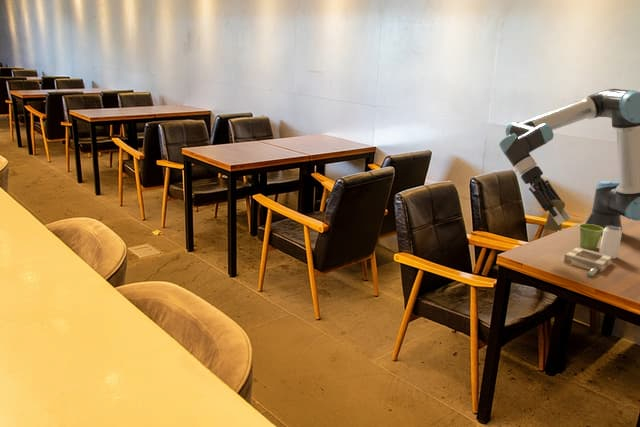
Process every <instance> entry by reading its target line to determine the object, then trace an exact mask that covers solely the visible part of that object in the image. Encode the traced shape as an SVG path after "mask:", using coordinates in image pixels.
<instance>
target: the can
mask: <svg viewBox="0 0 640 427" xmlns="http://www.w3.org/2000/svg"><path fill="white" fill-rule="evenodd" d="M621 230H622V231H621ZM622 236H623V228H622V229H621V228H620V227H617V226H612V225H607V226H606V227H605V229H604V230H603V235H601V238H600V239H601V241H600V245H599V249H598V253H602V254H606V255H609V256H613V257H612V260H615V259H617V258H618V253H619V249H620V245H621V244H620V243H621V240H622Z"/></svg>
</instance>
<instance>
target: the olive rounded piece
mask: <svg viewBox="0 0 640 427" xmlns="http://www.w3.org/2000/svg"><path fill="white" fill-rule="evenodd" d="M561 200H562V199H561ZM561 200H552V201H551V203H552V205H553V207H556V209H557V210H558V212H559V213H560V215H561V216H562V210H563V209H565V206H566V203H565V201H564V200H562V201H561ZM562 225H563V223H562V224H560V225H558V224H557V223H556V221H555V220H554V218H553V217H552V216H551V214H550V213H549V212H548V216H547V218H546V221H545V225H544V228H545V229H547V230H550V231H553V232H554V231H558V232H560V231H562V230H563V229H562V228H563V226H562Z"/></svg>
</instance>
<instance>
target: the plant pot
mask: <svg viewBox="0 0 640 427" xmlns="http://www.w3.org/2000/svg"><path fill="white" fill-rule="evenodd" d="M578 228H579V231H580V234H579V235H580V236H579V247H580V248H583V249H587V250H591V251H594V250H596V249H597V248H598V246H599V245H598V244H599V242H600V239H601V238H602V235H601V234H602V233H603V230H604V228H603V227H600V226H597V225H592V224H585V223H582V224H581V223H580V224H579V225H578Z"/></svg>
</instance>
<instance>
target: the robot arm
mask: <svg viewBox="0 0 640 427" xmlns="http://www.w3.org/2000/svg"><path fill="white" fill-rule="evenodd" d="M596 118H609V119H611V127H612V128H613V129H614V130H615V131H616V142H617V143H616V144H617V162H618V164H617V165H618V180H601V181H598V183H597V185H596V188H595V193H594V199H593V203H592V208H591V212H590V214H589V216H588V217H587V219H586V221H585V223H584V224H592V225H597V226H600V227H603V228H604V229H605V227H606V226H607V225H612V226H617V227H620V228H621V229H622V230H621V231H622V232H623V226H622V219H621V216H622V217H625V218H626V219H628V220H632V221H636V222H637V221H639V222H640V91H638V90H633V89H632V90H630V89H620V88H609V89H605V90H601V91H599V92H595V93H593V94H590V95H587V96H584V97H582V98H581V100H580V101H578V102H575V103H572V104H569V105H566V106H564V107H560V108H558V109H555V110H552V111H549V112H547V113H544V114H541V115H538V116H536V117H533V118H531V119H527V120H523V121H521V122H519V121H514V122H513V121H512V122H510V123H509V124H508V125H507V126H506V128H505V135H506V136H505V137H504V138H502V140H500V142H499V147H500V149H501V151H502V152H503V155H504V156H505V157H506V159H507V160H508V161H509V163H510V164H511V165H512V166H513V168H514V170H515V172H517V174H518V175H519V176H520V178H521V180H522V182H523V183H524V184H526V185H530V187H529V188H528V190H529V191H530V192H531V194H532V195H533V197H534V198H535V199H536V201H537V202H538V203H539V205H540V207H541V208H542V209H543V211H544V212H548V214H549V213H550V214H551V216H552V217H553V218H554V220H555V221H556V223H557V224H558V225H560V224H562V225H563V223H565V222H567V221H569V220H570V219H572V218H571V216H570V215H569V213H568V212H567V210H566V208H564V209H563V210H562V216H561V215H560V213H559V212H558V210H557V209H556V207H553V205H552V203H551V201H552V200H561V201H563V200H562V199H561V197H560V196H559V194H558V193H557V192H556V190H555V189H554V188H553V186H552V185H551V183H550V181H549V180H548V179H546V180H544V178H542V177H541V176H543V174H544V172H543V171H542V169H541V168H540V167H539V165H537V164H538V163H537V162H536V161H535V159H534V158H533V157H532V155H531V154H530V153H531V152H533V151H535V150H537V149H539V148H541V147H543V146H544V145H546V144H547V143H549V142H550V141H552V140H553V138H554V137H555V136H554V131H555V130H558V129H561V128H563V127H566V126H569V125H572V124H574V123H577V122H581V121H582V120H586V119H588V120H593V119H596ZM602 235H603V233H602V234H601V236H602Z"/></svg>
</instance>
